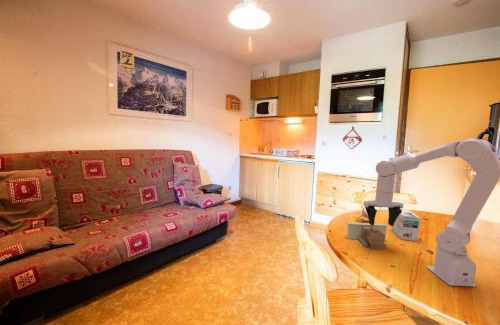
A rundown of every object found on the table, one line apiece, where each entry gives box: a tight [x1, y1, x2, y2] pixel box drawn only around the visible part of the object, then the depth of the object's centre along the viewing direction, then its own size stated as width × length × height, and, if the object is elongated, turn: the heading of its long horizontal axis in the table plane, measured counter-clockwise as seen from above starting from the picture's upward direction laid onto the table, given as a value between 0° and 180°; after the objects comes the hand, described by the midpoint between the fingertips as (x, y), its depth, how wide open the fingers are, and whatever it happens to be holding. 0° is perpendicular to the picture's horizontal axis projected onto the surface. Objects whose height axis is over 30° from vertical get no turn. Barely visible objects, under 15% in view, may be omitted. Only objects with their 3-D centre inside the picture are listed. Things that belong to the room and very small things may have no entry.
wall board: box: [346, 221, 388, 249], centre depth 94 cm, size 9×16×7 cm, turn 90°
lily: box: [355, 201, 369, 222], centre depth 117 cm, size 12×12×10 cm
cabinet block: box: [361, 226, 386, 250], centre depth 92 cm, size 8×5×7 cm, turn 0°
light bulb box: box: [391, 209, 422, 242], centre depth 102 cm, size 11×7×11 cm, turn 168°
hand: (381, 224), depth 89 cm, fingers open, 7 cm apart
